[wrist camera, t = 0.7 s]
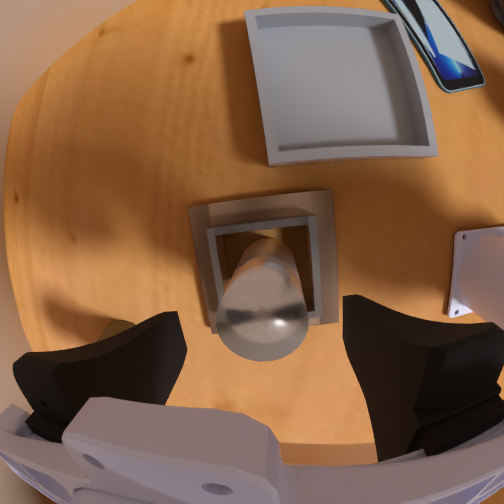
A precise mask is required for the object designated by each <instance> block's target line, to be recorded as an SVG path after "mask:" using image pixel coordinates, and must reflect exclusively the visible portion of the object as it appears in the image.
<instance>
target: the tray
mask: <svg viewBox="0 0 504 504" xmlns="http://www.w3.org/2000/svg"><path fill="white" fill-rule="evenodd" d="M244 14H245V19H246V25H247V30H248V36H249V41H250V47H251V52H252V58H253V64H254V70H255V76H256V82H257V88H258V94H259V101H260V107H261V114H262V120H263V127H264V134H265V140H266V147H267V155H268V162H269V166H270V167H274V166H283V165H293V164H303V163H314V162H327V161H342V160H361V159H402V158H412V159H422V158H430V157H438V148H437V142H436V136H435V130H434V124H433V119H432V114H431V110H430V105H429V101H428V97H427V93H426V89H425V85H424V82H423V78H422V75H421V71H420V68H419V65H418V62H417V59H416V56H415V53H414V50H413V47H412V44H411V42H410V39H409V37H408V34H407V32H406V29H405V27H404V24H403V22H402V20H401V17H400V15H398V14H393V13H387V12H381V11H374V10H367V9H358V8H347V7H330V6H293V7H275V8H264V9H255V10H247V11H244Z"/></svg>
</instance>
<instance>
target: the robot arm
mask: <svg viewBox="0 0 504 504" xmlns="http://www.w3.org/2000/svg"><path fill="white" fill-rule="evenodd" d="M463 235H464V238H463ZM456 310H457V311H456ZM455 311H456V312H455ZM470 312H474V313H476V314H477V315H478V316H479V317H481V318H482V319H483V320H484V321H486V323H473V324H456V323H443V322H436V321H429V320H424V319H420V318H416V317H412V316H409V315H406V314H403V313H400V312H397V311H395V310H392V309H390V308H387V307H385V306H383V305H380V304H378V303H376V302H374V301H372V300H370V299H367V298H365V297H363V296H360V295H357V294H355V295H348V296H343V341H344V345H345V349H346V352H347V356H348V358H349V361H350V363H351V365H352V368H353V370H354V372H355V375H356V377H357V379H358V382H359V384H360V386H361V389H362V391H363V394H364V397H365V400H366V403H367V407H368V411H369V415H370V420H371V424H372V429H373V434H374V439H375V445H376V450H377V457H378V463H374V464H367V465H347V466H346V465H341V466H329V465H327V466H325V465H302V464H289V463H283V461H282V459H281V454H280V446H279V441H278V440H277V438H276V437H275V435H274V434H273V432H272V431H271V429H270V428H269V427H268V426H266V425H264V424H262V423H260V422H258V421H256V420H254V419H252V418H250V417H248V416H247V415H245V414H243V413H237V412H231V411H225V410H220V409H212V408H190V407H176V406H165V404H166V401H167V399H168V397H169V395H170V393H171V391H172V389H173V387H174V384H175V382H176V380H177V378H178V376H179V374H180V372H181V369H182V367H183V364H184V361H185V357H186V353H187V350H188V349H187V346H186V342H185V339H184V335H183V332H182V328H181V324H180V320H179V316H178V313H177V311H171V312H163V313H160V314H157V315H155V316H153V317H151V318H149V319H147V320H145V321H143V322H141V323H139V324H137V325H135V326H133V327H131V328H129V329H127V330H125V331H122V332H120V333H118V334H116V335H114V336H111V337H109V338H106V339H104V340H101V341H98V342H95V343H92V344H88V345H84V346H80V347H76V348H71V349H66V350H58V351H48V352H28V353H25V354H24V355H23V356H21V357H20V358H19V359H18V360H17V361H15V362H14V363H13V374H14V377H15V379H16V382H17V384H18V386H19V388H20V389H21V391H22V393H23V394H24V396H25V398H26V399H27V401H28V402H29V404H30V405H31V407H32V409H33V410H34V412H33V413H32V414H31V415H30V414H29V413H28V412H27V411H25V410H24V409H22V408H20V407H18V406H16V405H14V404H11V405H10V406H9V407H8V408H7V409H6V410H5V411H4V412H3V413H2V414H1V415H0V457H1V458H2V459H3V460H4V461H5V462H6V463H7V465H8V466H9V467H10V468H11V469H12V470H13V471H14V472H15V473H16V474H17V475H18V476H20V477H21V478H22V479H24V480H25V481H26V482H28V483H29V484H30V485H32V486H33V487H34V488H36V489H37V490H39V491H40V492H41V493H43V494H44V495H46V496H47V497H49V498H50V499H52V500H53V501H55V502H56V503H58V504H479V503H480V502H482V501H483V500H485V499H486V498H488V497H489V496H491V495H492V494H493V493H495V492H496V491H498V490H499V489H500V488H502V487H503V486H504V400H502V399H501V397H500V396H499V395H498V394H500V392H501V387H500V386H499V385H498V384H497V380H498V378H499V376H500V373H501V371H502V368H503V366H504V226H500V227H491V228H482V229H474V230H465V231H458V232H456V234H455V237H454V258H453V271H452V282H451V290H450V298H449V305H448V311H447V315H448V317H450V318H454V317H457V316H461V315H464V314H467V313H470Z"/></svg>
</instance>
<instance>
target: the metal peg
mask: <svg viewBox="0 0 504 504" xmlns="http://www.w3.org/2000/svg"><path fill="white" fill-rule="evenodd" d="M308 322H309V319H308V313H307V309H306V304H305V300H304V296H303V292H302V287H301V283H300V279H299V275H298V271H297V267H296V263H295V259H294V256H293V253H292V252H291V250H290V249H289V247H288V246H287V245H285V244H284V243H283V242H281V241H279V240H276V239H272V238H264V239H259V240H257V241H255V242H253V243H251V244H250V245H249V246H248V247H247V248H246V249H245V251H244V253H243V255H242V257H241V259H240V261H239V263H238V266H237V268H236V270H235V272H234V274H233V276H232V278H231V280H230V283H229V285H228V287H227V289H226V291H225V293H224V295H223V298H222V300H221V302H220V304H219V306H218V309H217V313H216V328H217V331H218V334H219V336H220V338H221V340H222V341H223V343H224V344H225V345H226V346H227V347H228V348H229V349H230V350H231V351H233V352H234V353H236V354H237V355H239V356H241V357H243V358H246V359H249V360H254V361H273V360H277V359H280V358H283V357H285V356H287V355H289V354H290V353H292V352H293V351H294V350H296V349H297V348H298V347H299V345H300V344H301V343H302V341H303V340H304V338H305V336H306V333H307V330H308Z"/></svg>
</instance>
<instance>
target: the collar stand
mask: <svg viewBox="0 0 504 504" xmlns="http://www.w3.org/2000/svg"><path fill="white" fill-rule="evenodd" d="M188 211H189V217H190V223H191V229H192V235H193V241H194V247H195V252H196V258H197V263H198V269H199V274H200V279H201V284H202V289H203V294H204V299H205V304H206V309H207V313H208V318H209V322H210V327H211V331H212V334H218V331H217V328H216V313H217V309H218V306H219V304H220V302H221V300H222V298H223V295H224V293H225V291H226V289H227V287H228V285H229V283H230V279H229V273H228V267H227V261H226V255H225V248H224V242H223V235H222V234H230V233H238V232H247V231H255V230H264V229H273V228H281V227H290V226H300V225H305V228H306V238H307V249H308V261H309V274H310V288H311V298H308V299H304V300H305V304H306V309H307V313H308V319H309V322H308V326H315V325H323V324H330V323H338V322H339V299H338V267H337V248H336V233H335V220H334V209H333V199H332V190H331V189H328V190H317V191H306V192H296V193H287V194H278V195H270V196H261V197H253V198H246V199H238V200H231V201H224V202H217V203H211V204H204V205H198V206H191V207H188Z"/></svg>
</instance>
